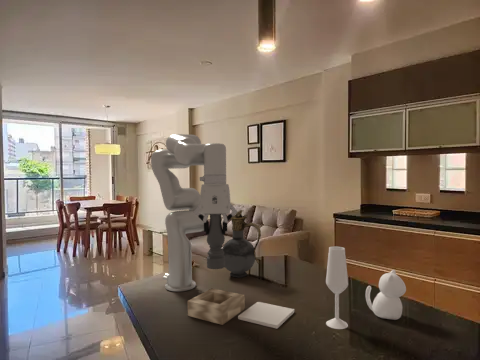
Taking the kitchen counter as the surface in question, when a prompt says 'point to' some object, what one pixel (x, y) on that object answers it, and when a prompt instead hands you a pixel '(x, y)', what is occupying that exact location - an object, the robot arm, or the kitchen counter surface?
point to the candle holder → (215, 241)
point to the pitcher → (240, 248)
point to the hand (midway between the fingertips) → (215, 233)
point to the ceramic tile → (266, 314)
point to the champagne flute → (337, 281)
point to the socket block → (216, 306)
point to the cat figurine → (387, 296)
